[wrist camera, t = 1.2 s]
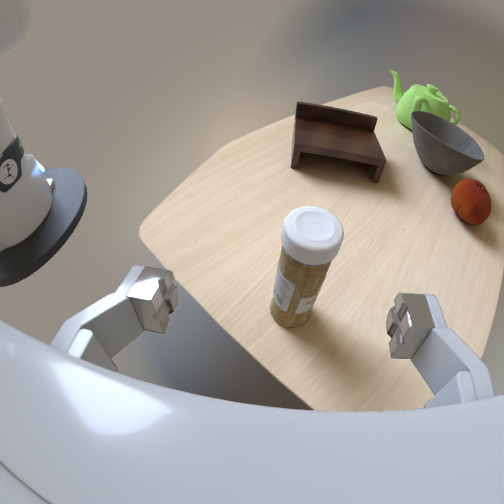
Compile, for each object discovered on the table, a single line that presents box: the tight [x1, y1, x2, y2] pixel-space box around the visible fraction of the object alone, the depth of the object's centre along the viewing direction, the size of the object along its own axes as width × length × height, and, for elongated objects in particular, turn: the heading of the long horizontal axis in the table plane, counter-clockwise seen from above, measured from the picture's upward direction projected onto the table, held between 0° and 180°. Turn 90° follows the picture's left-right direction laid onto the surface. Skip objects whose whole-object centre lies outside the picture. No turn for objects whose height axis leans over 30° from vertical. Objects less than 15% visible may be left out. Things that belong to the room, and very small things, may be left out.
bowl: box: [411, 111, 484, 176], centre depth 48 cm, size 19×19×10 cm
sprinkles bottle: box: [270, 206, 344, 327], centre depth 25 cm, size 5×5×13 cm
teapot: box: [390, 70, 460, 130], centre depth 60 cm, size 19×20×14 cm
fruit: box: [451, 179, 491, 225], centre depth 39 cm, size 9×9×8 cm
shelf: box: [291, 102, 386, 183], centre depth 47 cm, size 16×12×8 cm
